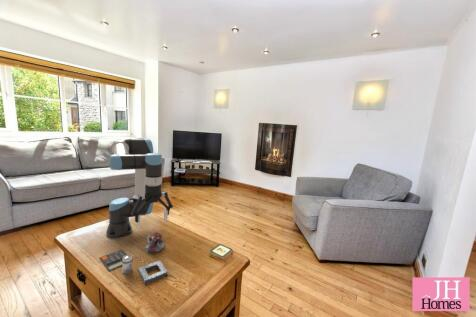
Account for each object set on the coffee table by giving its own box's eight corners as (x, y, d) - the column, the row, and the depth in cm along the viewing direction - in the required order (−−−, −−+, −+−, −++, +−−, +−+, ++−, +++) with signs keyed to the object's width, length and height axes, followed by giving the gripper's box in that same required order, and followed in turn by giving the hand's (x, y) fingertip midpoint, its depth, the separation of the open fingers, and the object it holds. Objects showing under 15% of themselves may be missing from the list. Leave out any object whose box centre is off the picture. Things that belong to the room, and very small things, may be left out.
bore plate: (138, 271, 106) (138, 267, 105) (160, 263, 113) (160, 260, 112) (144, 284, 97) (144, 280, 97) (167, 275, 104) (167, 271, 104)
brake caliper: (160, 252, 118) (149, 234, 119) (147, 260, 121) (136, 242, 121) (171, 242, 129) (161, 226, 130) (158, 249, 132) (148, 233, 132)
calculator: (121, 248, 122) (132, 260, 113) (121, 250, 122) (132, 262, 113) (99, 257, 113) (109, 270, 104) (99, 258, 113) (109, 272, 104)
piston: (121, 270, 105) (121, 256, 104) (131, 267, 108) (131, 253, 107) (123, 275, 102) (123, 261, 101) (133, 272, 105) (133, 257, 104)
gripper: (128, 190, 91) (128, 234, 95) (180, 183, 108) (178, 221, 111) (123, 185, 97) (123, 227, 100) (173, 179, 113) (172, 215, 117)
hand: (152, 224), depth 106 cm, fingers open, 13 cm apart
